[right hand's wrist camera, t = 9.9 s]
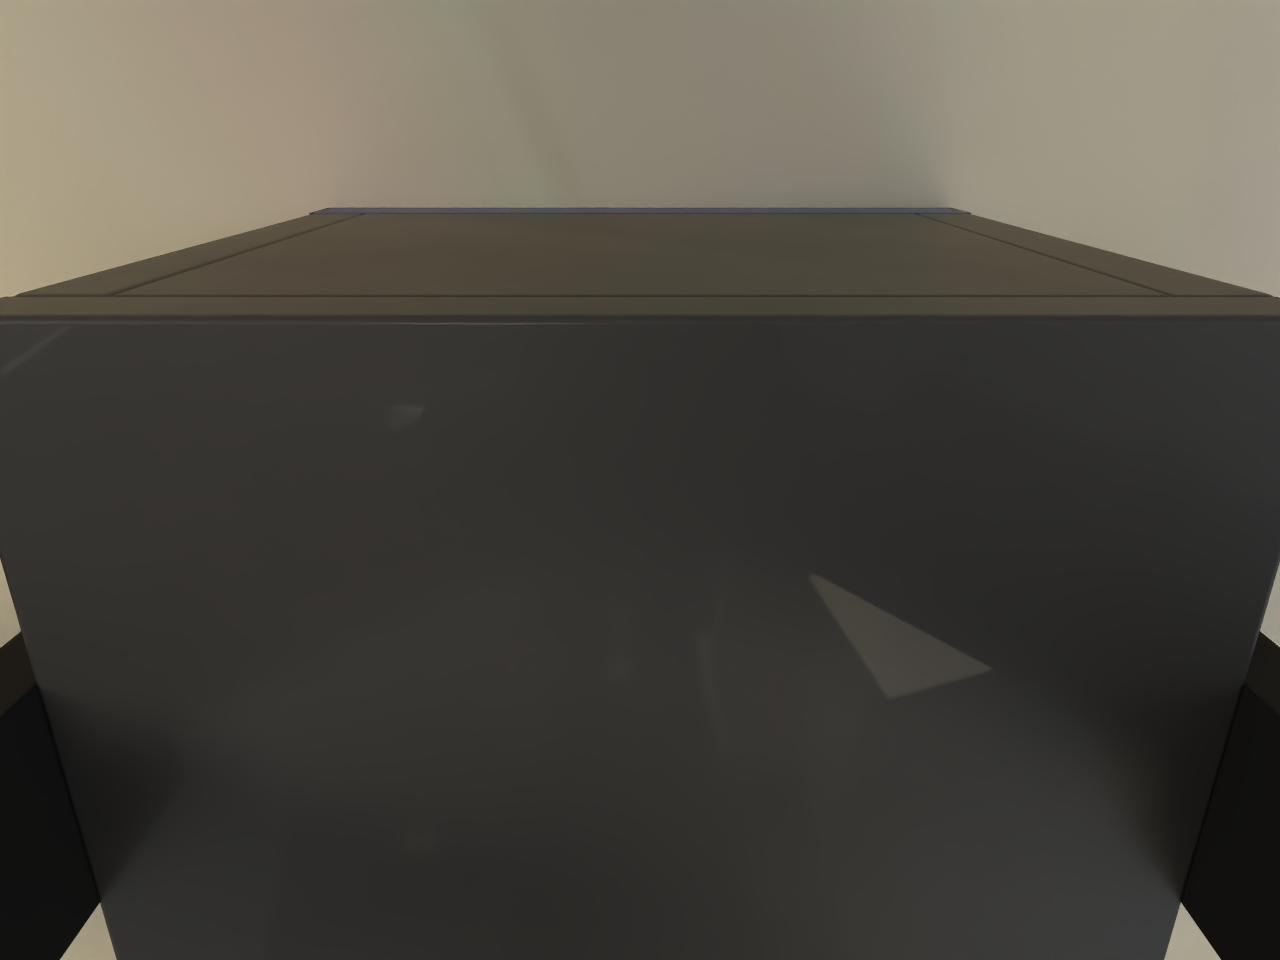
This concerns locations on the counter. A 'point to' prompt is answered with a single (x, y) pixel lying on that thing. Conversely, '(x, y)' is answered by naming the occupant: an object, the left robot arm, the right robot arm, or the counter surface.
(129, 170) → the counter surface
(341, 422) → the cabinet
